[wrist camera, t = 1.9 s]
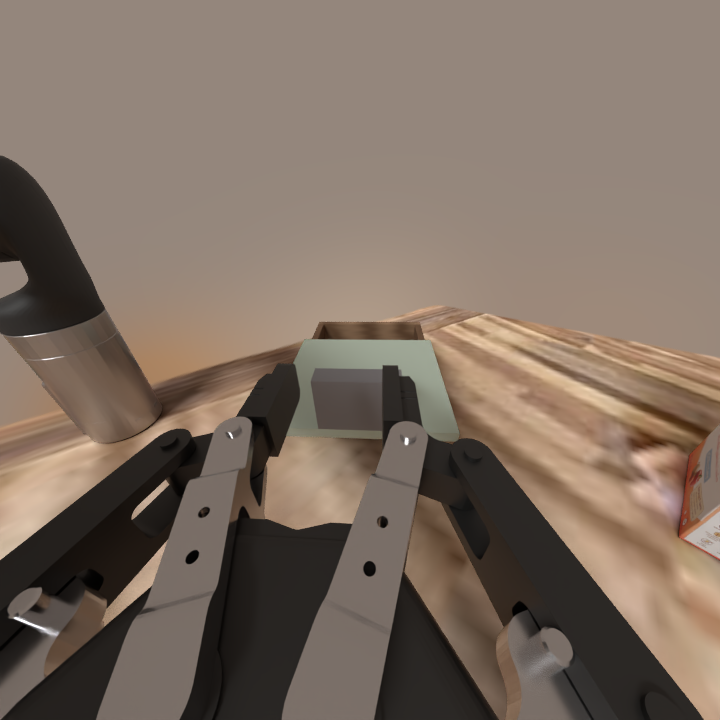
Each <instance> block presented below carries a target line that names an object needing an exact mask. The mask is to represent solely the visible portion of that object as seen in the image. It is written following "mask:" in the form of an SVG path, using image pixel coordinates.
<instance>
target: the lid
mask: <svg viewBox="0 0 720 720" xmlns="http://www.w3.org/2000/svg"><path fill="white" fill-rule="evenodd" d="M293 364H295V367H296V371H297V376H298V381H299V387H300V399H299V403H298V405H297V408H296V411H295V413H294V416H293V419H292V421H291V424H290V427H289V429H288V432H287V435H286V436H300V437H330V438H361V439H382V369H383V365H398V370H399V376H410V378H411V379H412V380H413V381H414V383H415V386H416V393H417V397H418V403H419V409H420V414H421V420H422V425H423V428H424V429H425V431H426V432H427V433H428V434H429V435H430V436H431V437H433V438H435V439H437V440H439V441H452V442H456V441H457V440H458V438H459V435H460V432H459V429H458V426H457V423H456V420H455V417H454V413H453V410H452V407H451V404H450V401H449V398H448V395H447V391H446V388H445V385H444V382H443V379H442V376H441V372H440V369H439V366H438V363H437V360H436V357H435V354H434V350H433V347H432V344H431V341H430V340H332V339H305V340H304V342H303V344H302V346H301V348H300V350H299V352H298V354H297V356H296V358H295V360H294V362H293Z"/></svg>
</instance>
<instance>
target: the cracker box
mask: <svg viewBox="0 0 720 720" xmlns="http://www.w3.org/2000/svg"><path fill="white" fill-rule="evenodd" d="M679 538H681V539H683V540H684V541H686V542H688V543H690V544H692V545H693V546H695V547H697V548H699V549H701V550H702V551H704V552H706V553H708V554H709V555H711V556H713V557H715V558H716V559H718V560H720V424H719V425H718V426H717V427H716V428H715V429H714V430H713V431H712V432H711V433H710V434H709V435H708V436H707V438H706V439H705V440H704V441H703V442H702V443H701V444H700V445H699V446H698V447H697V448H696V449H695V450H694V451H693V452H692V453H691V454H690V455H689V463H688V470H687V478H686V486H685V493H684V501H683V509H682V515H681V523H680V530H679Z"/></svg>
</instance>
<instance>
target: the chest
mask: <svg viewBox="0 0 720 720" xmlns="http://www.w3.org/2000/svg"><path fill="white" fill-rule="evenodd" d="M312 339H332V340H424V336H423V333H422V329H421V325H420V322H319V324H318V327H317V329H316V331H315V333H314V336H313V338H312Z"/></svg>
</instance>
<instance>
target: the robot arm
mask: <svg viewBox="0 0 720 720" xmlns="http://www.w3.org/2000/svg"><path fill="white" fill-rule="evenodd" d="M10 261H21V263H22V265H23V267H24V269H25V271H26V273H27V276H28V282H27V284H26V285H25V286H24V287H23V288H21V289H20V290H18V291H16V292H14V293H12V294H10V295H7V296H5V297H3V298H1V299H0V333H1V334H2V335H3V336H4V337H5V339H6V340H7V341H8V342H9V343H10V344H11V345H12V347H13V348H14V349H15V350H16V351H17V353H18V354H19V355H20V356H21V357H22V358H23V359H24V360H25V362H26V363H27V364H28V365H29V366H30V367H31V369H32V370H33V371H34V372H35V373H36V375H37V376H38V377H39V378H40V379H41V380H42V381H43V382H42V386H43V388H45V390H46V391H47V392H48V393H49V394H50V396H51V397H52V398H53V399H54V400H55V401H56V403H58V405H59V406H60V407H61V408H62V409H63V411H64V412H65V413H66V414H67V415H68V416H69V418H70V419H71V420H72V421H73V422H74V423H75V424H76V426H77V427H78V428H79V429H80V430H81V431H82V432H83V434H87V435H88V436H89V437H90V438H91V439H92V440H93V441H94V442H98V443H112V442H116V441H121V440H123V439H126V438H129V437H131V436H133V435H136V434H138V433H139V432H141V431H143V430H145V429H146V428H147V427H149V426H150V425H151V424H152V423H154V422H155V421H156V420H157V418H158V417H159V416H160V414H161V412H162V404H161V403H160V401H159V399H158V398H157V396H156V394H155V392H154V391H153V389H152V387H151V385H150V384H149V382H148V380H147V379H146V377H145V375H144V373H143V372H142V370H141V368H140V367H139V365H138V363H137V362H136V360H135V358H134V356H133V355H132V353H131V352H130V350H129V348H128V346H127V344H126V343H125V341H124V339H123V338H122V336H121V334H120V332H119V331H118V329H117V328H116V326H115V324H114V322H113V321H112V319H111V317H110V316H109V314H108V312H107V311H106V309H105V307H104V305H103V303H102V302H101V300H100V298H99V296H98V294H97V291H96V289H95V286H94V284H93V282H92V279H91V277H90V275H89V274H88V272H87V270H86V268H85V266H84V264H83V263H82V261H81V259H80V257H79V255H78V253H77V251H76V249H75V247H74V245H73V243H72V241H71V239H70V237H69V235H68V233H67V231H66V229H65V227H64V225H63V223H62V221H61V219H60V217H59V215H58V213H57V212H56V210H55V208H54V206H53V204H52V203H51V201H50V200H49V198H48V196H47V195H46V193H45V192H44V190H43V189H42V188H41V187H40V185H39V184H38V183H37V182H36V180H35V179H34V178H33V177H32V176H31V175H30V174H29V173H28V172H27V171H26V170H24V169H23V168H22V167H21V166H19V165H18V164H17V163H15V162H13V161H12V160H10V159H8V158H6V157H4V156H0V262H10ZM299 399H300V387H299V381H298V376H297V371H296V367H295V364H277V366H276V367H275V369H274V371H273V373H272V374H266V375H265V376H263V377H262V378H261V379H260V380H259V381H258V382H257V384H256V385H255V387H254V389H253V390H252V392H251V393H250V396H249V397H248V398H247V400H246V401H245V403H244V405H243V406H242V408H241V409H240V411H239V413H238V414H237V416H236V417H234V418H230V419H228V420H226V421H224V422H222V423H221V424H220V425H219V426H218V427H217V428H216V429H215V431H214V433H210V434H206V435H201V436H197V437H192V435H191V434H190V432H189V431H188V430H186V429H174V430H170V431H168V432H165V433H163V434H162V435H160V436H158V437H157V438H156V439H154V440H153V441H152V442H151V443H149V444H148V445H147V446H146V447H144V448H143V449H142V450H140V451H139V452H138V453H137V454H135V455H134V456H133V457H131V458H130V459H129V460H128V461H126V462H125V463H124V464H123V465H121V466H120V467H119V468H117V469H116V470H115V471H114V472H112V473H111V474H110V475H109V476H107V477H106V478H105V479H103V480H102V481H101V482H100V483H98V484H97V485H96V486H94V487H93V488H92V489H91V490H89V491H88V492H87V493H86V494H84V495H83V496H82V497H80V498H79V499H78V500H77V501H75V502H74V503H73V504H71V505H70V506H69V507H68V508H66V509H65V510H64V511H63V512H61V513H60V514H59V515H57V516H56V517H55V518H54V519H52V520H51V521H50V522H49V523H47V524H46V525H45V526H43V527H42V528H41V529H40V530H38V531H37V532H36V533H34V534H33V535H32V536H31V537H29V538H28V539H27V540H26V541H24V542H23V543H22V544H20V545H19V546H18V547H17V548H15V549H14V550H13V551H11V552H10V553H9V554H8V555H6V556H5V557H4V558H3V559H1V560H0V720H499V719H498V718H497V716H496V715H495V713H494V711H493V710H492V708H491V707H490V705H489V704H488V702H487V700H486V699H485V697H484V696H483V694H482V693H481V691H480V690H479V688H478V686H477V685H476V683H475V682H474V680H473V679H472V677H471V675H470V674H469V672H468V671H467V669H466V668H465V666H464V664H463V663H462V661H461V660H460V658H459V657H458V655H457V654H456V652H455V650H454V649H453V647H452V646H451V644H450V643H449V641H448V639H447V638H446V636H445V635H444V633H443V632H442V630H441V628H440V627H439V625H438V624H437V622H436V621H435V619H434V618H433V616H432V614H431V613H430V611H429V610H428V608H427V607H426V605H425V603H424V602H423V600H422V599H421V597H420V596H419V594H418V593H417V591H416V589H415V588H414V586H413V585H412V583H411V582H410V580H409V578H408V577H407V575H406V574H405V572H404V571H405V566H406V561H407V555H408V550H409V544H410V538H411V533H412V527H413V522H414V516H415V511H416V506H417V500H418V495H419V494H421V495H423V496H426V497H429V498H431V499H434V500H437V501H439V502H441V503H442V505H443V507H444V509H445V511H446V513H447V515H448V517H449V519H450V521H451V523H452V525H453V527H454V529H455V531H456V533H457V535H458V537H459V539H460V541H461V543H462V545H463V547H464V549H465V551H466V553H467V555H468V557H469V559H470V561H471V563H472V565H473V567H474V569H475V571H476V573H477V575H478V577H479V579H480V581H481V583H482V584H483V586H484V588H485V590H486V592H487V594H488V596H489V598H490V600H491V602H492V604H493V606H494V608H495V610H496V612H497V614H498V616H499V618H500V620H501V622H502V624H503V626H504V628H503V629H502V630H501V632H500V633H499V635H498V638H497V643H496V655H497V661H498V665H499V668H500V671H501V674H502V677H503V679H504V683H505V687H506V693H507V711H506V716H505V720H704V719H703V718H702V716H701V715H700V714H699V712H698V711H697V709H696V708H695V707H694V705H693V704H692V703H691V702H690V700H689V699H688V698H687V697H686V695H685V694H684V693H683V692H682V690H681V689H680V688H679V687H678V685H677V684H676V683H675V681H674V680H673V679H672V678H671V676H670V675H669V674H668V673H667V671H666V670H665V669H664V668H663V666H662V665H661V664H660V663H659V661H658V660H657V659H656V658H655V656H654V655H653V654H652V653H651V651H650V650H649V649H648V648H647V646H646V645H645V644H644V642H643V641H642V640H641V639H640V637H639V636H638V635H637V634H636V632H635V631H634V630H633V629H632V627H631V626H630V625H629V624H628V622H627V621H626V620H625V619H624V617H623V616H622V615H621V614H620V612H619V611H618V610H617V609H616V607H615V606H614V605H613V603H612V602H611V601H610V600H609V598H608V597H607V596H606V595H605V593H604V592H603V591H602V590H601V588H600V587H599V586H598V585H597V583H596V582H595V581H594V580H593V578H592V577H591V576H590V575H589V573H588V572H587V571H586V570H585V568H584V567H583V566H582V564H581V563H580V562H579V561H578V559H577V558H576V557H575V556H574V554H573V553H572V552H571V551H570V549H569V548H568V547H567V546H566V544H565V543H564V542H563V541H562V539H561V538H560V537H559V536H558V534H557V533H556V532H555V530H554V529H553V528H552V527H551V525H550V524H549V523H548V522H547V520H546V519H545V518H544V517H543V515H542V514H541V513H540V512H539V510H538V509H537V508H536V507H535V505H534V504H533V503H532V502H531V500H530V499H529V498H528V497H527V495H526V494H525V493H524V491H523V490H522V489H521V488H520V486H519V485H518V484H517V483H516V481H515V480H514V479H513V478H512V476H511V475H510V474H509V473H508V471H507V470H506V469H505V468H504V466H503V465H502V464H501V463H500V461H499V460H498V459H497V458H496V456H495V455H494V454H493V452H492V451H491V450H490V449H489V448H488V447H487V446H486V445H484V444H483V443H481V442H479V441H477V440H474V439H468V438H464V439H459V440H457V441H456V442H454V443H453V445H452V444H449V443H445V442H442V441H439V440H437V439H435V438H433V437H431V436H430V435H429V434H428V433H427V432H426V431H425V429H424V428H423V425H422V420H421V414H420V409H419V403H418V397H417V393H416V386H415V383H414V381H413V380H412V379H411V378H410V376H399V370H398V365H383V369H382V455H381V458H380V461H379V463H378V466H377V469H376V472H375V474H372V475H371V476H370V478H369V480H368V483H367V486H366V489H365V491H364V494H363V497H362V500H361V502H360V505H359V508H358V511H357V513H356V516H355V519H354V522H353V524H344V523H327V524H323V525H318V526H314V527H309V528H305V529H300V530H295V529H292V528H289V527H286V526H284V525H281V524H279V523H276V522H273V521H271V520H268V519H265V514H264V510H265V496H266V483H267V465H266V463H267V460H268V458H269V456H272V457H278V456H279V453H280V451H281V448H282V445H283V443H284V440H285V437H286V435H287V432H288V429H289V427H290V424H291V421H292V419H293V416H294V413H295V411H296V408H297V405H298V403H299ZM165 479H166V481H167V482H168V483H169V486H168V487H167V488H166V489H165V490H164V491H163V492H161V493H160V494H159V495H158V496H157V497H156V498H155V499H154V500H153V501H152V502H151V503H150V504H149V505H148V506H147V507H146V508H145V509H144V510H143V511H142V512H141V513H140V514H139V515H138V516H137V517H135V518H134V519H133V520H132V519H131V517H132V513H133V511H134V510H135V508H136V507H137V506H138V505H139V504H140V503H141V502H142V501H143V500H144V499H145V498H146V497H147V496H148V495H149V494H151V493H152V492H153V491H154V490H155V489H156V488H157V487H158V486H159V485H160V484H161V483H162V482H163V481H164V480H165ZM167 540H168V541H167ZM166 541H167V544H166V547H165V550H164V553H163V556H162V559H161V562H160V565H159V568H158V571H157V574H156V576H155V579H154V582H153V585H152V586H151V587H150V588H149V589H148V590H147V591H145V592H144V593H143V594H142V595H141V596H140V597H138V598H137V599H136V600H135V601H134V602H133V603H132V604H130V605H129V606H128V607H127V608H126V609H125V610H123V611H122V612H121V613H120V614H119V615H118V616H116V617H115V618H114V619H113V620H112V621H111V622H109V623H108V624H107V625H106V626H105V627H104V621H103V620H102V619H103V617H104V615H105V612H106V609H107V608H108V607H109V605H110V604H111V603H112V602H113V601H114V600H115V599H116V598H117V596H118V595H119V594H120V593H121V592H122V591H123V590H124V588H125V587H126V586H127V585H128V584H129V583H130V582H131V581H132V579H133V578H134V577H135V576H136V575H137V574H138V573H139V572H140V570H141V569H142V568H143V567H144V566H145V565H146V564H147V562H148V561H149V560H150V559H151V558H152V557H153V556H154V555H155V553H156V552H157V551H158V550H159V549H160V548H161V547H162V545H163V544H164V543H165V542H166Z"/></svg>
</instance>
